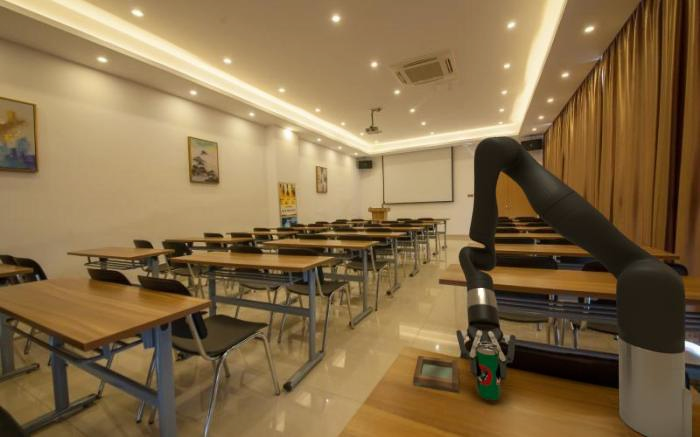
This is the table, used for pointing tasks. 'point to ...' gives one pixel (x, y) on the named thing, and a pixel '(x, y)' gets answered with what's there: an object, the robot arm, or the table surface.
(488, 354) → the soda can
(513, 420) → the table surface
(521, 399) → the table surface
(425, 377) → the tray
